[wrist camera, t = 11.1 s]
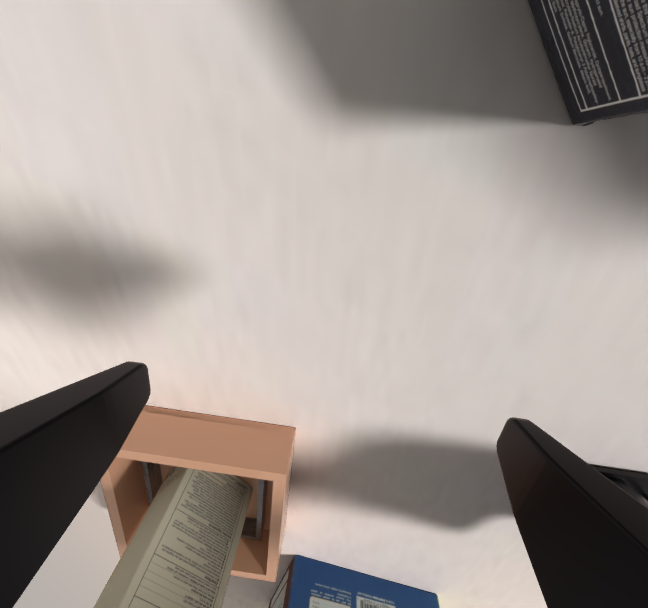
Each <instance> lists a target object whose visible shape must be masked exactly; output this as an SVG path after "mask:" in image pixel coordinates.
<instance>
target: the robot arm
mask: <svg viewBox="0 0 648 608" xmlns="http://www.w3.org/2000/svg"><path fill="white" fill-rule="evenodd" d="M149 396H150V382H149V375H148V368H147V366H146V365H145V364H144V363H138V362H125V363H123V364H120V365H118V366H115V367H113V368H110V369H108V370H105V371H103V372H100V373H98V374H95V375H93V376H90V377H88V378H85V379H83V380H80V381H78V382H75V383H73V384H70V385H68V386H65V387H63V388H60V389H58V390H55V391H53V392H50V393H48V394H45V395H43V396H40V397H38V398H35V399H33V400H30V401H28V402H25V403H23V404H20V405H18V406H15V407H13V408H10V409H8V410H5V411H3V412H0V608H12V607H13V606H14V605H15V603H16V602H17V600H18V599H19V598H20V596H21V595H22V593H23V592H24V590H25V589H26V587H27V586H28V584H29V583H30V581H31V580H32V579H33V577H34V576H35V574H36V573H37V571H38V570H39V568H40V567H41V566H42V564H43V562H44V561H45V560H46V558H47V557H48V555H49V554H50V552H51V551H52V550H53V548H54V547H55V545H56V544H57V542H58V541H59V539H60V538H61V536H62V535H63V534H64V532H65V531H66V529H67V528H68V526H69V525H70V523H71V522H72V520H73V519H74V517H75V516H76V515H77V513H78V512H79V510H80V509H81V507H82V506H83V504H84V503H85V502H86V500H87V499H88V497H89V496H90V494H91V493H92V491H93V490H94V489H95V487H96V486H97V484H98V483H99V481H100V480H101V478H102V477H103V475H104V474H105V473H106V471H107V470H108V468H109V467H110V465H111V464H112V462H113V461H114V459H115V458H116V456H117V454H118V453H119V451H120V449H121V448H122V446H123V444H124V442H125V441H126V439H127V437H128V435H129V433H130V432H131V430H132V428H133V426H134V424H135V422H136V421H137V419H138V417H139V415H140V413H141V412H142V410H143V408H144V406H145V404H146V403H147V401H148V399H149ZM497 453H498V457H499V461H500V465H501V469H502V472H503V476H504V480H505V484H506V488H507V491H508V495H509V499H510V503H511V506H512V510H513V513H514V517H515V519H516V522H517V525H518V528H519V531H520V534H521V536H522V539H523V542H524V545H525V547H526V550H527V553H528V555H529V558H530V561H531V564H532V566H533V569H534V572H535V575H536V577H537V580H538V583H539V585H540V588H541V591H542V594H543V596H544V599H545V602H546V604H547V607H548V608H648V474H642V473H635V472H628V471H621V470H615V469H608V468H601V467H594V466H590V465H589V464H588V463H586V462H585V461H584V460H582V459H581V458H580V457H578V456H577V455H575V454H574V453H573V452H571V451H570V450H569V449H567V448H566V447H565V446H563V445H562V444H561V443H559V442H558V441H557V440H555V439H554V438H553V437H551V436H550V435H549V434H547V433H546V432H544V431H543V430H542V429H540V428H539V427H538V426H536V425H535V424H534V423H532V422H531V421H529V420H527V419H521V418H514V417H513V418H509V419H508V420H507V422H506V424H505V426H504V428H503V430H502V432H501V434H500V437H499V439H498V441H497Z"/></svg>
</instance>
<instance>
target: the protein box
mask: <svg viewBox="0 0 648 608" xmlns="http://www.w3.org/2000/svg"><path fill="white" fill-rule="evenodd" d="M269 608H440V607H439V601H438V596H437V595H436V594H433V593H430V592H426V591H422V590H419V589H416V588H412V587H409V586H405V585H402V584H398V583H395V582H391V581H388V580H384V579H381V578H377V577H374V576H370V575H367V574H363V573H360V572H356V571H352V570H349V569H345V568H342V567H338V566H335V565H331V564H328V563H324V562H321V561H317V560H314V559H310V558H307V557H303V556H300V555H296V556H294V558H293V560H292V562H291V564H290V566H289V568H288V569H287V571H286V573H285V575H284V577H283V579H282V581H281V582H280V585H279V586H278V588H277V590H276V592H275V594H274V596H273V598H272V600H271V602H270V604H269Z"/></svg>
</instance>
